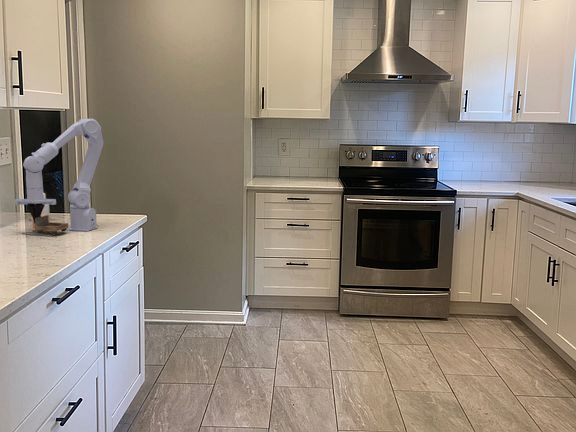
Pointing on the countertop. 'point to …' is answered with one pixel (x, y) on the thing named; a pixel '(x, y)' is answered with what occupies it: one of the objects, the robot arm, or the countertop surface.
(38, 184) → the robot arm
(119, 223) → the countertop surface
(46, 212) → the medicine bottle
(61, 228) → the cart
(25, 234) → the rails
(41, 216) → the terracotta block
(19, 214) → the countertop surface
